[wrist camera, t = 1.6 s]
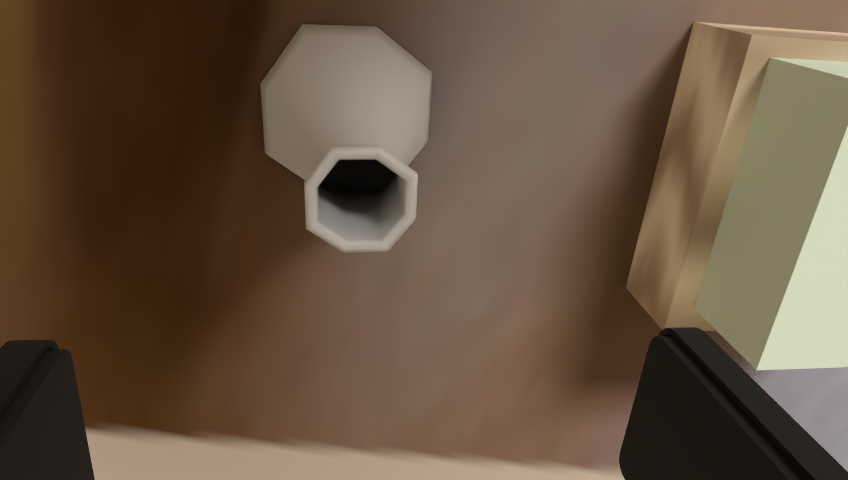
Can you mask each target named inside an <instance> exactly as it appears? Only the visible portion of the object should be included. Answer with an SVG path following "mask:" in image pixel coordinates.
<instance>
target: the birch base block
mask: <svg viewBox="0 0 848 480" xmlns="http://www.w3.org/2000/svg"><path fill="white" fill-rule="evenodd" d="M770 57H771V58H789V59H807V60H825V61H843V62H848V34H847V33H834V32H821V31H808V30H795V29H782V28H769V27H756V26H743V25H731V24H718V23H705V22H694V23H693V27H692V31H691V35H690V38H689V42H688V46H687V50H686V54H685V58H684V62H683V66H682V70H681V74H680V77H679V81H678V85H677V89H676V93H675V97H674V101H673V105H672V109H671V113H670V117H669V120H668V124H667V128H666V132H665V136H664V140H663V144H662V148H661V152H660V156H659V159H658V163H657V167H656V171H655V175H654V179H653V183H652V187H651V191H650V195H649V199H648V202H647V206H646V210H645V214H644V218H643V222H642V226H641V230H640V234H639V238H638V242H637V245H636V249H635V253H634V257H633V261H632V265H631V269H630V273H629V277H628V281H627V284H626V289H627V290H628V291H629V292H630V293H631V294H632V296H633V297H634V298H635V299H636V300H637V301H638V303H639V304H640V305H641V306H642V307H643V308H644V309H645V311H646V312H647V313H648V314H649V315H650V316H651V317H652V319H653V320H654V321H655V322H656V323H657V324H658V326H659V327H660V328H661V329H662V330H663V329H665V328H682V327H696V328H700V329H701V330H703V331H716V330H715V329H714V328H713V327H712V326H711V325H710V324H709V323H708V322H707V321H706V320H705V319H704V318H703V317H702V316H701V315H700V314H699V313H698V312H697V311H696V310H695V309H694V307H695V303H696V300H697V297H698V293H699V290H700V287H701V284H702V280H703V277H704V274H705V270H706V267H707V264H708V261H709V257H710V254H711V251H712V247H713V244H714V241H715V237H716V234H717V231H718V228H719V224H720V221H721V218H722V214H723V211H724V208H725V205H726V201H727V198H728V195H729V191H730V188H731V185H732V182H733V178H734V175H735V172H736V168H737V165H738V162H739V159H740V155H741V152H742V149H743V145H744V142H745V139H746V136H747V132H748V129H749V126H750V122H751V119H752V116H753V113H754V109H755V106H756V103H757V99H758V96H759V93H760V90H761V86H762V83H763V80H764V76H765V73H766V70H767V67H768V63H769V60H770Z"/></svg>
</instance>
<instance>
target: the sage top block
mask: <svg viewBox="0 0 848 480" xmlns="http://www.w3.org/2000/svg"><path fill="white" fill-rule="evenodd" d="M694 309H695V310H696V311H697V312H698V313H699V314H700V315H701V316H702V317H703V318H704V319H705V320H706V321H707V322H708V323H709V324H710V325H711V326H712V327H713V328H714V329H715V330H716V331H717V332H718V333H719V334H720V335H721V336H722V337H723V338H724V339H725V340H726V341H727V342H728V343H729V344H730V345H731V346H732V347H733V348H734V349H735V350H736V351H737V352H738V353H739V354H740V355H741V356H742V357H743V358H744V359H745V360H746V361H748V362H749V363H750V364H751V365H752V366H753V367H754V368H755V369H756V370H779V369H806V368H833V367H848V62H843V61H825V60H807V59H789V58H771V57H770V60H769V63H768V67H767V70H766V73H765V76H764V80H763V83H762V86H761V90H760V93H759V96H758V99H757V103H756V106H755V109H754V113H753V116H752V119H751V122H750V126H749V129H748V132H747V136H746V139H745V142H744V145H743V149H742V152H741V155H740V159H739V162H738V165H737V168H736V172H735V175H734V178H733V182H732V185H731V188H730V191H729V195H728V198H727V201H726V205H725V208H724V211H723V214H722V218H721V221H720V224H719V228H718V231H717V234H716V237H715V241H714V244H713V247H712V251H711V254H710V257H709V261H708V264H707V267H706V270H705V274H704V277H703V280H702V284H701V287H700V290H699V293H698V297H697V300H696V303H695V307H694Z"/></svg>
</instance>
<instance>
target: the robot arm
mask: <svg viewBox="0 0 848 480" xmlns="http://www.w3.org/2000/svg"><path fill="white" fill-rule="evenodd" d="M619 463H620V468H621V472H622V474H623V476H624V478H625V480H848V472H847V471H846V470H845V469H844V468H843V467H842V466H841V465H840V464H839V463H838V462H837V461H836V460H835V459H834V458H833V457H832V456H831V455H830V454H829V453H828V452H827V451H826V450H825V449H824V448H823V447H822V446H821V445H819V444H818V443H817V442H816V441H815V440H814V439H813V438H812V437H811V436H810V435H809V434H808V433H807V432H806V431H805V430H804V429H803V428H802V427H801V426H800V425H799V424H798V423H797V422H796V421H795V420H794V419H793V418H792V417H791V416H790V415H789V414H788V413H787V412H786V411H785V410H784V409H783V408H782V407H781V406H780V405H779V404H778V403H777V402H775V401H774V400H773V399H772V398H771V397H770V396H769V395H768V394H767V393H766V392H765V391H764V390H763V389H762V388H761V387H760V386H759V385H758V384H757V383H756V382H755V381H754V380H753V379H752V378H751V377H750V376H749V375H748V374H747V373H746V372H745V371H744V370H743V369H742V368H741V367H740V366H739V365H738V364H737V363H736V362H735V361H734V360H733V359H731V358H730V357H729V356H728V355H727V354H726V353H725V352H724V351H723V350H722V349H721V348H720V347H719V346H718V345H717V344H716V343H715V342H714V341H713V340H712V339H711V338H710V337H709V336H708V335H707V334H706V333H705V332H704V331H703V330H701V329H700V328H696V327H682V328H665V329H663V330H662V331H661V332H660V333H659V336H656V337H654V338H653V339H652V340H651V342H650V345H649V348H648V352H647V356H646V359H645V363H644V367H643V370H642V374H641V378H640V381H639V385H638V389H637V392H636V396H635V400H634V403H633V407H632V411H631V414H630V418H629V422H628V425H627V429H626V433H625V436H624V440H623V444H622V447H621V451H620V456H619ZM0 480H94V474H93V469H92V463H91V458H90V453H89V447H88V442H87V437H86V431H85V426H84V420H83V415H82V410H81V404H80V399H79V393H78V388H77V383H76V377H75V372H74V367H73V361H72V357H71V354H70V352H69V351H68V350H66V349H62V350H59V348H58V346H57V344H56V342H55V341H53V340H19V341H8V342H6V343H5V344H4V345H3V346H2V347H1V348H0Z"/></svg>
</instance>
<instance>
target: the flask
mask: <svg viewBox="0 0 848 480" xmlns="http://www.w3.org/2000/svg"><path fill="white" fill-rule="evenodd" d="M260 87H261V102H262V117H263V132H264V148H265V154H267V155H268V156H270V157H271V158H273V159H274V160H276V161H277V162H279V163H280V164H282V165H283V166H285V167H286V168H287V169H289V170H290V171H292V172H293V173H295V174H296V175H298V176H299V177H301V178H302V179H304V180H305V182H304V192H305V218H306V229H307V230H309V231H310V232H312V233H313V234H315V235H316V236H318V237H320V238H321V239H323V240H324V241H326V242H328V243H329V244H331V245H332V246H334V247H335V248H337V249H339V250H340V251H342V252H343V253H348V252H388V251H389V250H390V249H391V247H392V246H393V245H394V244H395V243H396V242H397V240H398V239H399V238H400V237H401V236H402V234H403V233H404V232H405V231H406V230H407V229H408V227H409V226H410V225H411V224H412V223H413V221H414V220H415V219H416V204H417V182H418V175H417V173H416V172H415V171H414V170H412V169H411V168H410V167H408V165H409V164H410V163H411V162H412V160H413V159H414V158H415V157H416V156H417V154H418V153H419V152H420V151H421V149H422V148H423V147H424V146H425V144H426V143H427V142H428V141H429V125H430V106H431V87H432V72H431V71H430V70H429V69H428V68H426V67H425V66H424V65H423V64H422V63H420V62H419V61H418V60H417V59H415V58H414V57H413V56H412V55H411V54H409V53H408V52H407V51H406V50H405V49H403V48H402V47H401V46H400V45H399V44H397V43H396V42H395V41H394V40H393V39H391V38H390V37H389V36H388V35H387V34H385V33H384V32H383V31H382V30H380V29H379V28H378V27H376V26H345V25H313V24H302V25H301V27H300V28H299V30H298V31H297V32H296V34H295V35H294V37H293V38H292V39H291V41H290V42H289V44H288V45H287V47H286V48H285V49H284V51H283V52H282V54H281V55H280V56H279V58H278V59H277V61H276V62H275V64H274V65H273V66H272V68H271V69H270V71H269V72H268V73H267V75H266V76H265V78H264V79H263V80H262V82H261V83H260Z"/></svg>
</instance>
